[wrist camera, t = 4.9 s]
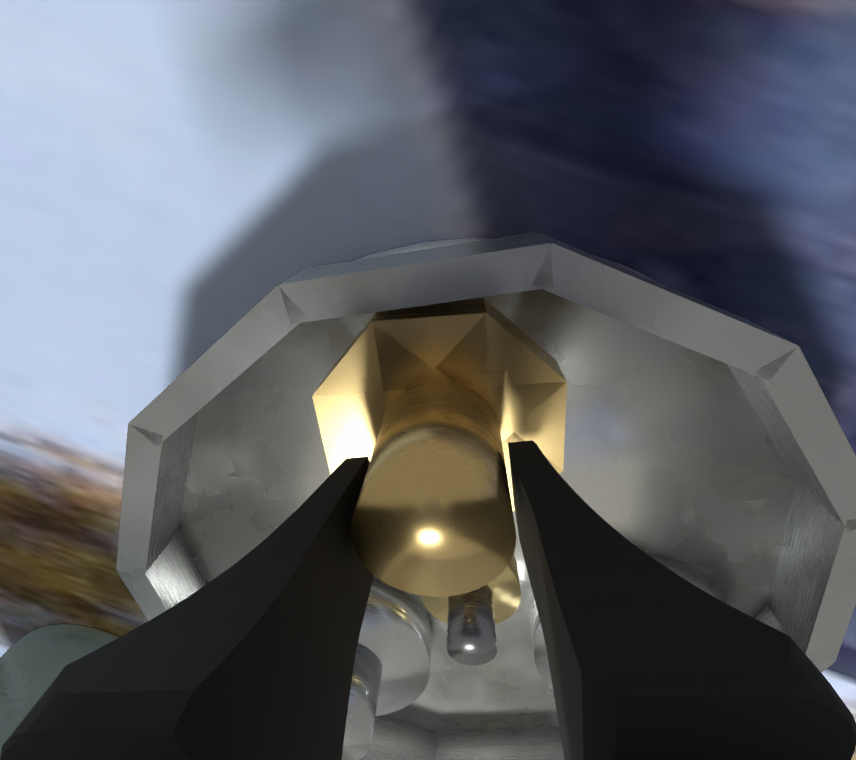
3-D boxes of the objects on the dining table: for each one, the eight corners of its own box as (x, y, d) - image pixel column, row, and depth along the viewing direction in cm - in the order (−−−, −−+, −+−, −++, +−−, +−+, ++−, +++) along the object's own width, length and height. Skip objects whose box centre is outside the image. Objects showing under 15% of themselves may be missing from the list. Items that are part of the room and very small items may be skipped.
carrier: (861, 172, 12) (1155, 173, 7) (740, 702, 22) (823, 860, 17) (70, 297, 15) (-125, 361, 10) (282, 712, 25) (237, 848, 20)
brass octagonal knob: (558, 291, 12) (625, 374, 7) (551, 492, 15) (597, 649, 10) (312, 310, 13) (221, 398, 8) (353, 498, 16) (304, 648, 11)
